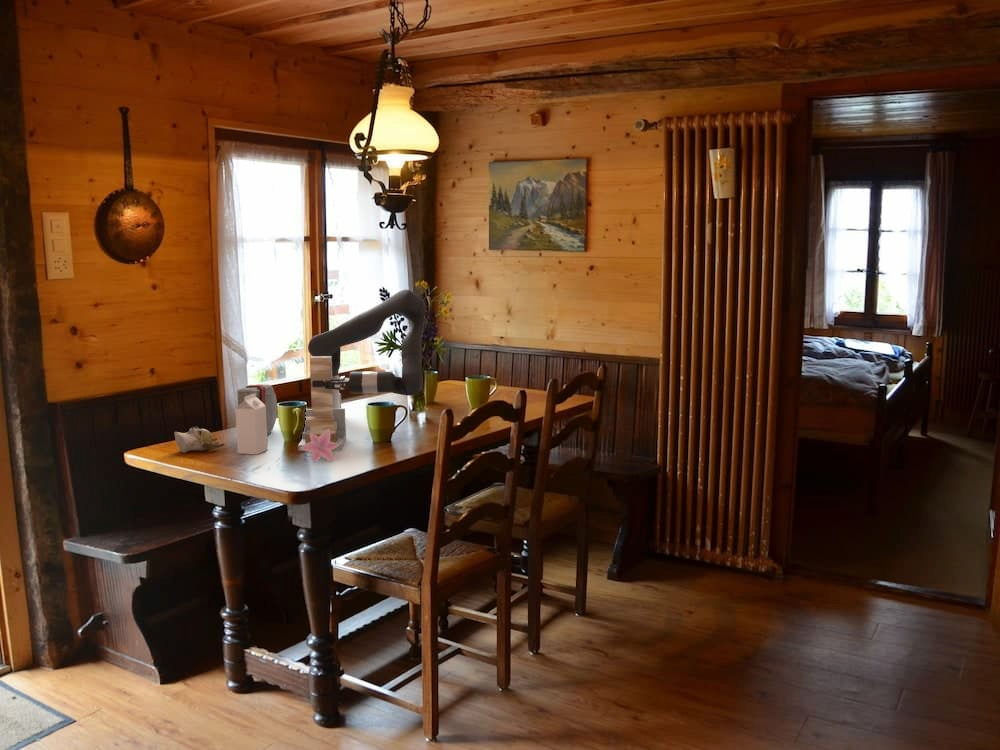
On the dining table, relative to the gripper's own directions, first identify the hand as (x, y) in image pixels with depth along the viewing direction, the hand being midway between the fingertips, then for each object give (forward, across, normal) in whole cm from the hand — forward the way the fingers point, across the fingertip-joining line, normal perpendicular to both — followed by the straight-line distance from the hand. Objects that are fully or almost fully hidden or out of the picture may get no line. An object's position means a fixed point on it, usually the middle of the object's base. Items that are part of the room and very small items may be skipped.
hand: (313, 383), depth 298 cm
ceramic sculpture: (+37, +8, +21) cm, 44 cm away
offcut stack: (-3, +7, +19) cm, 20 cm away
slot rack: (-3, +3, +21) cm, 21 cm away
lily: (-5, +24, +21) cm, 32 cm away
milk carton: (+19, +12, +21) cm, 30 cm away
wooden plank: (-3, 0, +15) cm, 15 cm away
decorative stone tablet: (+21, -10, +21) cm, 31 cm away
